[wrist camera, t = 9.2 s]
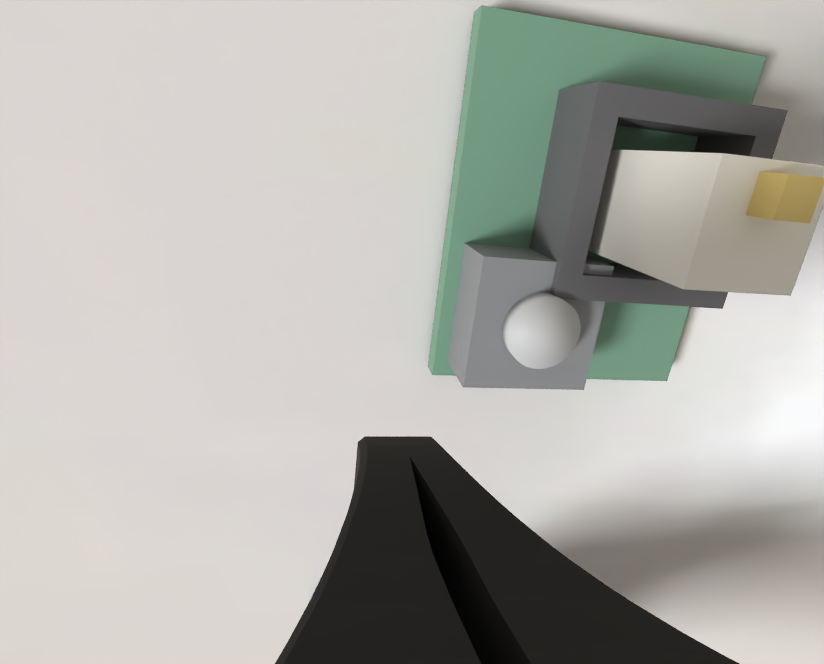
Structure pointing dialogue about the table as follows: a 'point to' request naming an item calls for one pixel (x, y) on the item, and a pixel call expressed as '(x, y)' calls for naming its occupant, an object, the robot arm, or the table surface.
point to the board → (572, 197)
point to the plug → (709, 218)
